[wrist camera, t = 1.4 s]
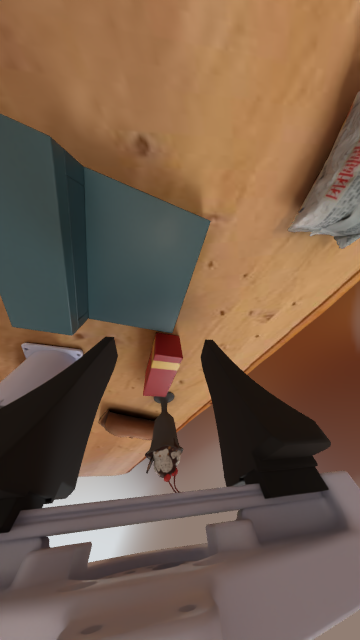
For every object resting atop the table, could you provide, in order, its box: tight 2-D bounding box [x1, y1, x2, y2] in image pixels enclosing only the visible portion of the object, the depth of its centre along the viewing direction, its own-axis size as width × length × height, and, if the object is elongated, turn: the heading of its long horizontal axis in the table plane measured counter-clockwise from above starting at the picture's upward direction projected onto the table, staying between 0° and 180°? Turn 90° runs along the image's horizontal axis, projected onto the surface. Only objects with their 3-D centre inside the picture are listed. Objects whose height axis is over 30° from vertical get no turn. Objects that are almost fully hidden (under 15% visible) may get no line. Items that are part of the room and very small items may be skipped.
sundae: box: [145, 392, 183, 493], centre depth 26 cm, size 7×7×15 cm
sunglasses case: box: [99, 410, 155, 440], centre depth 35 cm, size 18×7×7 cm, turn 54°
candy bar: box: [143, 332, 183, 397], centre depth 23 cm, size 10×4×5 cm, turn 163°
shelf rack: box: [0, 114, 210, 335], centre depth 14 cm, size 14×16×6 cm
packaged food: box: [288, 91, 360, 249], centre depth 12 cm, size 9×12×5 cm
